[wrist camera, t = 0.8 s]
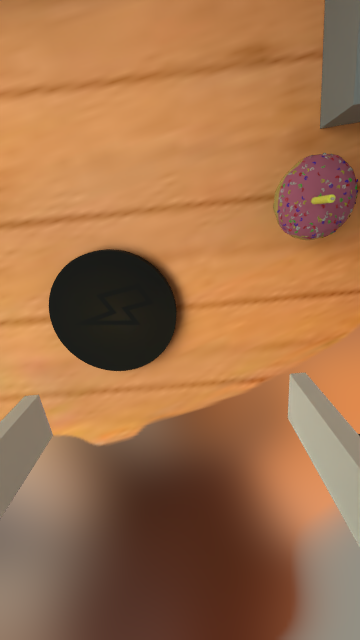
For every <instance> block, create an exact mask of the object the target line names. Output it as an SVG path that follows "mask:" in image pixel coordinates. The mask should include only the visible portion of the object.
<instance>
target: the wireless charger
mask: <svg viewBox="0 0 360 640" xmlns="http://www.w3.org/2000/svg"><path fill="white" fill-rule="evenodd" d="M49 313H50V319H51V322H52V325H53V328H54V330H55V332H56V334H57V336H58V338H59V339H60V341H61V342H62V343H63V345H64V346H65V347H66V348H67V349H68V350H69V351H70V352H71V353H72V354H73V355H75V356H76V357H77V358H79V359H80V360H82V361H84V362H85V363H87V364H89V365H92V366H94V367H97V368H101V369H105V370H111V371H126V370H132V369H136V368H139V367H142V366H144V365H146V364H148V363H150V362H151V361H153V360H154V359H156V358H157V357H158V356H159V355H160V354H161V353H162V352H163V351H164V350H165V349H166V347H167V346H168V344H169V342H170V340H171V338H172V336H173V333H174V329H175V324H176V303H175V299H174V295H173V292H172V290H171V287H170V286H169V284H168V282H167V280H166V279H165V277H164V276H163V275H162V274H161V272H160V271H159V270H158V269H157V268H156V267H154V266H153V265H152V264H151V263H149V262H148V261H147V260H145V259H143V258H141V257H140V256H137V255H135V254H133V253H130V252H126V251H121V250H110V249H107V250H99V251H94V252H91V253H87V254H84V255H82V256H80V257H78V258H76V259H74V260H73V261H71V262H70V263H69V264H67V265H66V266H65V267H64V268H63V269H62V270H61V272H60V273H59V274H58V276H57V277H56V279H55V281H54V283H53V285H52V288H51V292H50V297H49Z"/></svg>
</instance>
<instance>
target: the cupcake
mask: <svg viewBox="0 0 360 640" xmlns="http://www.w3.org/2000/svg"><path fill="white" fill-rule="evenodd" d="M357 182H358V179H357V180H356V178H355V175H354V172H353V169H352V168H351V167H350V166H349V164H348V163H347V162H345V161H344V160H343V159H342V158H341V157H340V156H338V155H334V154H326V153H323V154H322V155H311V156H308V157H306V158H304V159H302V160H301V161H300V162H298V163H297V164H296V165H295V166H294V167H293V168H292V169H291V170H290V171H289V172H288V173H287V174H286V175H285V176H284V177H283V179H282V180H281V182H280V184H279V185H278V187H277V190H276V192H275V198H274V205H273V209H274V213H275V215H276V218H277V221H278V224H279V225H280V227H281V228H282V230H283V231H284V232H285V233H287V234H289V235H291V236H292V237H295V238H299V239H303V240H312V239H316V238H319V237H322V238H323V237H326V236H328V235H329V234H332V233H333V232H335V231H336V230H337V229H338V228H339V227H340V226H341V225H342V224H343V223H344V222H345V221H346V220H347V219H348V217H350V213H351V212H352V209H353V207H354V204H356V202H355V201H356V198H357V195H356V194H357V192H358V190H357Z"/></svg>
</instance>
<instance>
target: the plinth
mask: <svg viewBox="0 0 360 640" xmlns="http://www.w3.org/2000/svg"><path fill="white" fill-rule="evenodd" d="M357 122H360V0H325V15H324V41H323V67H322V93H321V119H320V129H322V128H327V127H333V126H339V125H345V124H351V123H357Z"/></svg>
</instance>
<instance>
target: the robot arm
mask: <svg viewBox="0 0 360 640" xmlns="http://www.w3.org/2000/svg"><path fill="white" fill-rule="evenodd" d="M288 419H289V421H290V423H291V424H292V426H293V428H294V430H295V432H296V433H297V435H298V437H299V439H300V441H301V442H302V444H303V446H304V448H305V450H306V451H307V453H308V455H309V457H310V458H311V460H312V462H313V464H314V466H315V468H316V469H317V471H318V473H319V475H320V477H321V478H322V480H323V482H324V484H325V486H326V487H327V489H328V491H329V493H330V495H331V496H332V498H333V500H334V502H335V504H336V505H337V507H338V509H339V510H340V513H341V515H342V516H343V518H344V520H345V522H346V524H347V525H348V527H349V529H350V531H351V532H352V534H353V536H354V538H355V540H356V542H357V543H358V545H359V547H360V434H357V433H356V432H355V430H354V429H353V428H352V427H351V426H350V425H349V423H348V422H347V421H346V420H345V419H344V418H343V416H342V415H341V414H340V413H339V412H338V410H337V409H336V408H335V407H334V406H333V405H332V403H331V402H330V401H329V400H328V399H327V398H326V396H325V395H324V394H323V393H322V392H321V391H320V389H319V388H318V387H317V386H316V385H315V384H314V382H313V381H312V380H311V379H310V378H309V377H308V375H307V374H306V373H295V374H290V383H289V404H288ZM52 436H53V434H52V431H51V428H50V426H49V423H48V420H47V417H46V414H45V411H44V408H43V406H42V403H41V400H40V397H39V395H32V396H24V397H23V399H22V400H21V401H20V402H19V403H18V404H17V405H16V406H15V407H14V408H13V409H12V410H11V411H10V412H9V413H8V414H7V415H6V416H5V417H4V419H3V420H2V421H1V422H0V519H1V517H2V515H3V514H4V513H5V511H6V509H7V508H8V506H9V505H10V503H11V501H12V500H13V498H14V497H15V495H16V493H17V492H18V490H19V489H20V487H21V486H22V484H23V482H24V481H25V479H26V478H27V476H28V474H29V473H30V471H31V470H32V468H33V467H34V465H35V463H36V462H37V460H38V459H39V457H40V455H41V454H42V452H43V450H44V449H45V447H46V446H47V444H48V443H49V441H50V439H51V438H52Z"/></svg>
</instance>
